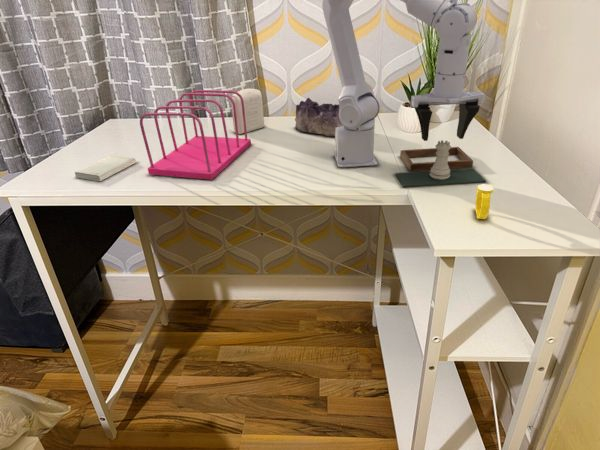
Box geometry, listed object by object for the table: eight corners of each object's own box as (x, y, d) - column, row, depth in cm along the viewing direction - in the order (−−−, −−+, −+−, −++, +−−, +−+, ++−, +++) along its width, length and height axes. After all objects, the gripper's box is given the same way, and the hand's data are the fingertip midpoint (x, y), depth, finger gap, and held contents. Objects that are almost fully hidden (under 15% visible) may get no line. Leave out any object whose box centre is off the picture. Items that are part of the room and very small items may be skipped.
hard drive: (99, 175, 103) (134, 157, 113) (74, 171, 106) (111, 154, 116) (100, 182, 104) (136, 163, 114) (76, 178, 107) (112, 159, 117)
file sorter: (148, 175, 106) (133, 112, 98) (196, 141, 127) (187, 87, 119) (212, 180, 101) (201, 114, 93) (251, 144, 122) (245, 88, 114)
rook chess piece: (450, 181, 94) (455, 146, 90) (429, 180, 95) (433, 145, 91) (449, 173, 98) (453, 139, 94) (428, 172, 98) (432, 138, 94)
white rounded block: (258, 124, 139) (254, 85, 132) (266, 127, 136) (263, 86, 130) (232, 132, 132) (227, 91, 126) (240, 135, 130) (235, 93, 124)
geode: (285, 134, 128) (284, 100, 125) (302, 128, 138) (302, 96, 134) (350, 139, 120) (350, 101, 116) (363, 132, 129) (364, 97, 126)
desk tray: (410, 171, 100) (410, 164, 99) (400, 156, 109) (400, 150, 108) (472, 167, 101) (473, 160, 100) (457, 153, 109) (458, 146, 108)
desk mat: (403, 187, 93) (403, 185, 93) (395, 174, 99) (395, 173, 99) (485, 182, 93) (485, 180, 93) (472, 169, 100) (473, 168, 99)
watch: (470, 207, 84) (475, 179, 81) (485, 208, 83) (491, 180, 80) (474, 223, 79) (479, 193, 76) (490, 224, 78) (496, 194, 75)
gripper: (420, 78, 82) (413, 146, 89) (495, 74, 82) (483, 142, 89) (410, 71, 88) (405, 135, 95) (480, 67, 88) (470, 132, 95)
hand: (442, 138), depth 93 cm, fingers open, 7 cm apart
